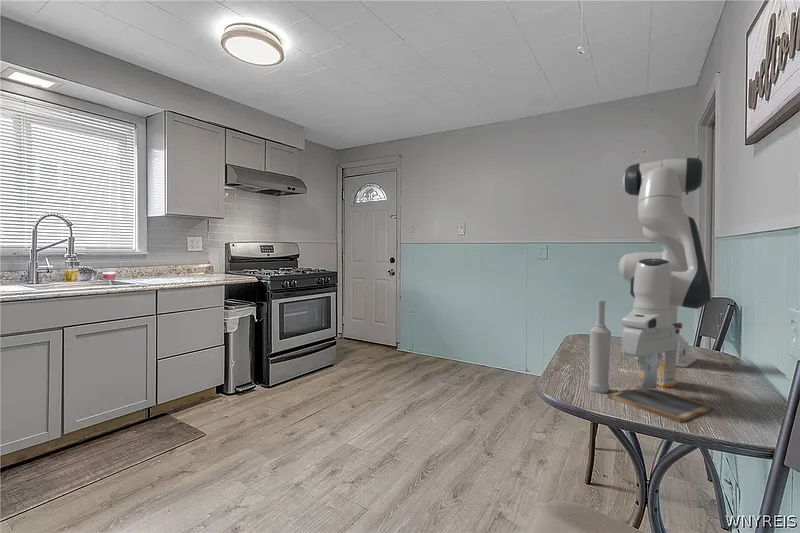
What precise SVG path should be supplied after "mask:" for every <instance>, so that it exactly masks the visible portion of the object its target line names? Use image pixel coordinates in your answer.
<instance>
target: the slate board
mask: <svg viewBox="0 0 800 533" xmlns="http://www.w3.org/2000/svg"><path fill="white" fill-rule="evenodd" d="M607 399H611V400H613V401H617V402H619V403H622V404H626V405H628V406H631V407H634V408H637V409H639V410H643V411H646V412H648V413H651V414H655V415H658V416H660V417H664V418H666V419H669V420H672V421H675V422H677V423H682V422H685V421H687V420H690V419H691V418H695V417H697V416H700V415H702V414H705V413H706V412H710V411H712V410H713V409H714V405H711V404H708V403H705V402H701V401H699V400H694V399H691V398H687V397H684V396H681V395H678V394H677V395H676V394H674V393H670V392H667V391H664V390H660V389H657V388H655V389H652V388H646V387H643V386H642V384H640V385H638V386H633V387H631V388H627V389H623V390H619V391H616V392H613V393H609V394H607ZM711 409H712V410H711Z"/></svg>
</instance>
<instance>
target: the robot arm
mask: <svg viewBox="0 0 800 533" xmlns="http://www.w3.org/2000/svg"><path fill="white" fill-rule="evenodd" d="M705 178H706V166H704V163H703V161H702V159H700V158H698V157H686V158H666V159H659V160H654V161H653V160H652V161H649V162H645V163H644V162H643V163H639V162H638V163H635V164H631V165H629V166H628V167H627V168H626V169H625V172H624V174H623V176H622V186H623V188H624V191H625V193H627V194H628V195H630V196H637V197H638V198H637V199H638V200H637V219H638V221H639V223H640V225H642V235H643V237H644V238H645V239H646V240H648V241H650V242H652V243H655V244H657V245H659V246H661V247H662V249H663V250H662V251H636V252H629V253H624V255H623V256H622V257H621V258H620V260H619V262H618V266H617V268H618V272H619V274H620V275H621V277H622V278H623V280H626V282H628V283H630V292H629V293H630V295H631V296H632V297H633V298H634V300H633V303H632V310H631V311H630V312H629V313H628V314H626V315H625V316H624V317H623V318H622V319H621V325H622V326H624V328H623V330H622V334H621V335H622V336H621V337H622V338H621V339H622V340H621V342H622V344H621V345H622V346H621V348H622V352H623V354H624V356H627V357H628V356H629V357H632V358H634V359H635V360H637V361H638V363H639V367H640V370H642V371H649V370H650V364H648V361H647V359H648V355H651V354H656V353H658V364H657V369H658V368H659V362H660V360H661V358H662V352H666V351H671V350H674V349H675V347H676V342H677V356H676V367H681V368H687V367H689V366H691V365H692V364H693V363H695V362H696V361H697V357H696V356H693V355H689V354H690V348H689V347H690V345H689V342H687V341H686V339H685V338H684V337H683V336H682V335H681V334H680V333H681V332H680V329H681V330H682V329H683V323H682V322H678V307H683V308H689V309H694V310H695V309H696V310H697V309H699V308H700V309H701V308H702V307H704V306H706V305H708V304H709V303H710V302H711V301H712V300H711V299H712V298H713V286H712V285H713V284H712V282H711V279H710V277H709V275H708V272H707V264H706V261H705V256H704V252H703V247H702V242H701V237H700V233H699V229H698V225H697V223H696V221H695V219H694V218H693V217H691V216H688V215H687V214H686V212H685V211H684V209H683V201H682V200H683V196H682V195H683V193H685V195H686V196H687V195H689V193H692V192H694V191H696V190H697V189H699V188H700V187H701V186H702V184H703V182H704V180H705ZM682 192H683V193H682Z"/></svg>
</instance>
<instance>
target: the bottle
mask: <svg viewBox="0 0 800 533" xmlns="http://www.w3.org/2000/svg"><path fill="white" fill-rule="evenodd" d="M605 315H606V300H605V299H602V300H601V299H597V300H596V322H595V324H594V327H592V328H590V330H589V377H588V378H589V381H588V382H587V383H588V384H587V386H588V389H589V390H590V391H591V392H593V393H598V394H601V393H602V394H605V393H608V392H609V390H610V384H609V373H610V372H609V371H610V354H611V353H610V352H611V351H610V350H611V338H612V337H611V335H612V332H611V330H609V329H608V328H607V325H606V324H605V321H606V320H605V318H606V316H605Z"/></svg>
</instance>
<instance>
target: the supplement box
mask: <svg viewBox="0 0 800 533" xmlns="http://www.w3.org/2000/svg"><path fill="white" fill-rule="evenodd" d="M676 356H677V342H676V347H675V349H674V350H671V351H666V352H662V358H661V360H660V362H659V368H658V369H657V386H659V387H662V388H668V387H669V388H670V387H675V386H676V375H677V374H676V372H677V366H676ZM638 370H639V371H638V373H639V374H638V378H639V379H640V380H642V370H640V366H639V369H638Z"/></svg>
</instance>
